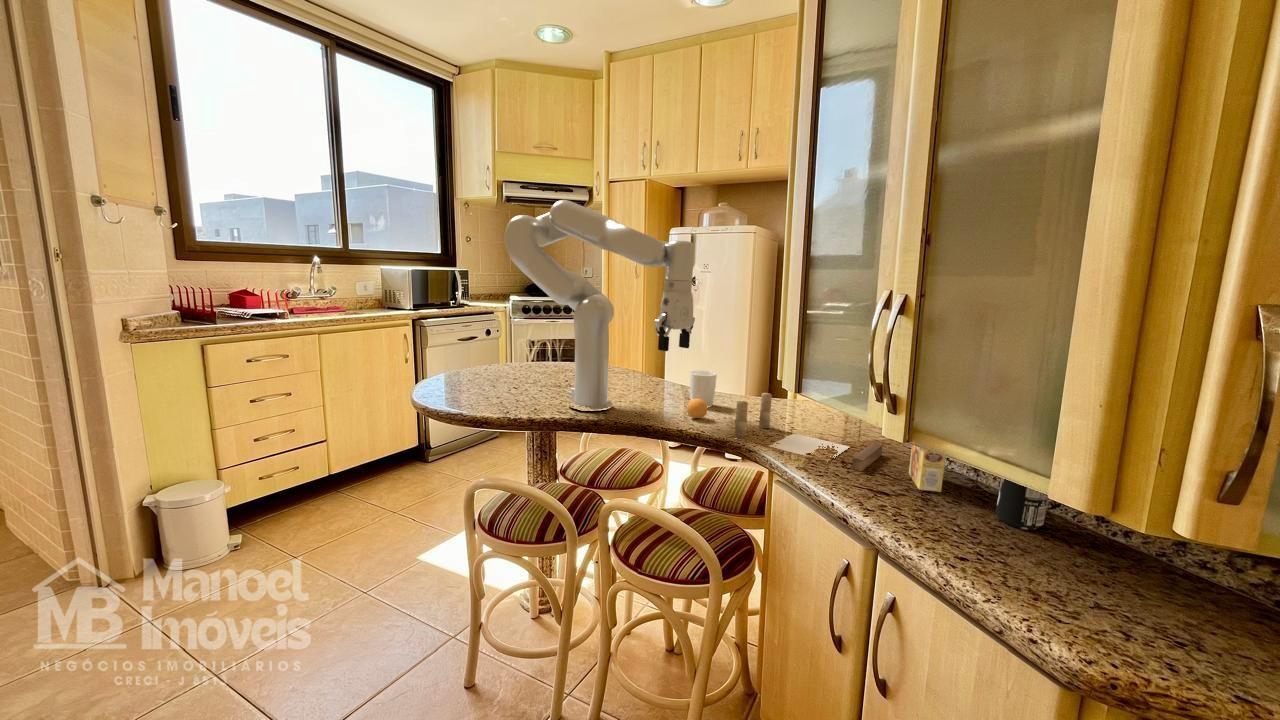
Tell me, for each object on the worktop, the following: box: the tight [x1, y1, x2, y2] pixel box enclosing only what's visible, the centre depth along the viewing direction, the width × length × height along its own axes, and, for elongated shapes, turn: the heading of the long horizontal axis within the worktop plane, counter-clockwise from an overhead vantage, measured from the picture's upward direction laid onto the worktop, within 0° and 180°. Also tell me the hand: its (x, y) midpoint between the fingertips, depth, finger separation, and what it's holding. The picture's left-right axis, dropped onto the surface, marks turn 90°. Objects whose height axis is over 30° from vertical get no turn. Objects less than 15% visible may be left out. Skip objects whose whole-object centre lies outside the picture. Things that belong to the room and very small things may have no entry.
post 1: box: [734, 400, 749, 440], centre depth 126 cm, size 3×3×9 cm
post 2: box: [758, 392, 773, 429], centre depth 136 cm, size 3×3×9 cm
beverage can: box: [995, 477, 1049, 531], centre depth 87 cm, size 7×7×12 cm
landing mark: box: [769, 432, 851, 463], centre depth 122 cm, size 14×14×1 cm
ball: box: [686, 398, 708, 419], centre depth 142 cm, size 6×6×6 cm
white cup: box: [689, 370, 718, 406], centre depth 156 cm, size 8×8×10 cm
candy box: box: [908, 444, 947, 493], centre depth 102 cm, size 9×4×15 cm, turn 166°
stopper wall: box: [851, 442, 884, 472], centre depth 114 cm, size 2×14×2 cm, turn 140°
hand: (673, 349), depth 145 cm, fingers open, 9 cm apart
